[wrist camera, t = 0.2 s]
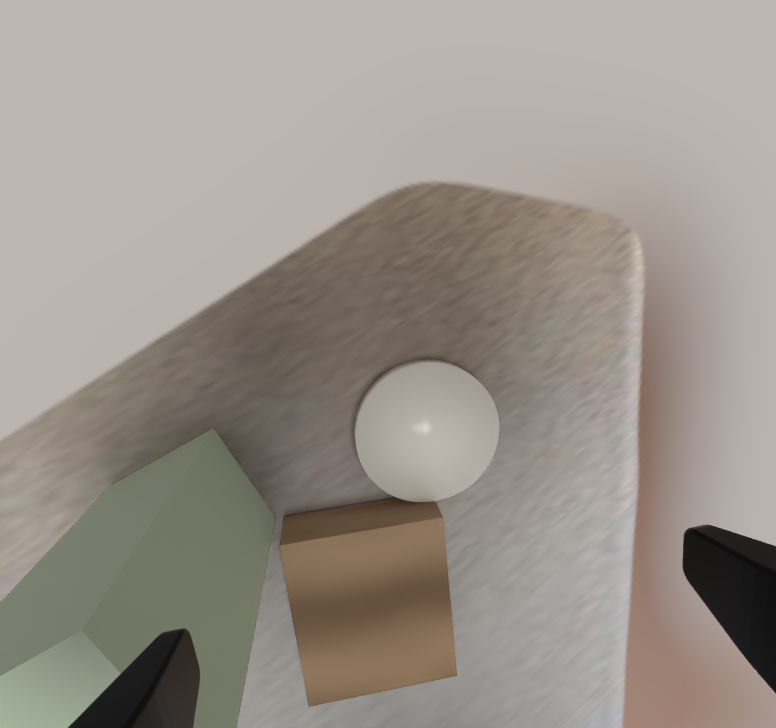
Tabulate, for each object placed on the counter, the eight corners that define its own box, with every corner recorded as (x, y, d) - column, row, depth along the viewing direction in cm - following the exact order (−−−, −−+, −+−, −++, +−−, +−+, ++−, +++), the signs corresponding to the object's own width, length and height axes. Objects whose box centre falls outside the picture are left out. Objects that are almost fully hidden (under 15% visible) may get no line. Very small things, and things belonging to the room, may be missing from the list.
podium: (444, 637, 26) (456, 675, 24) (310, 664, 26) (309, 706, 23) (430, 491, 24) (442, 517, 22) (284, 516, 24) (279, 545, 21)
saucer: (496, 480, 25) (503, 489, 24) (363, 503, 24) (365, 513, 23) (488, 350, 23) (495, 354, 22) (345, 369, 22) (346, 374, 21)
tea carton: (275, 517, 24) (225, 789, 12) (178, 571, 24) (25, 902, 11) (213, 427, 22) (82, 630, 10) (110, 485, 22) (-146, 757, 10)
